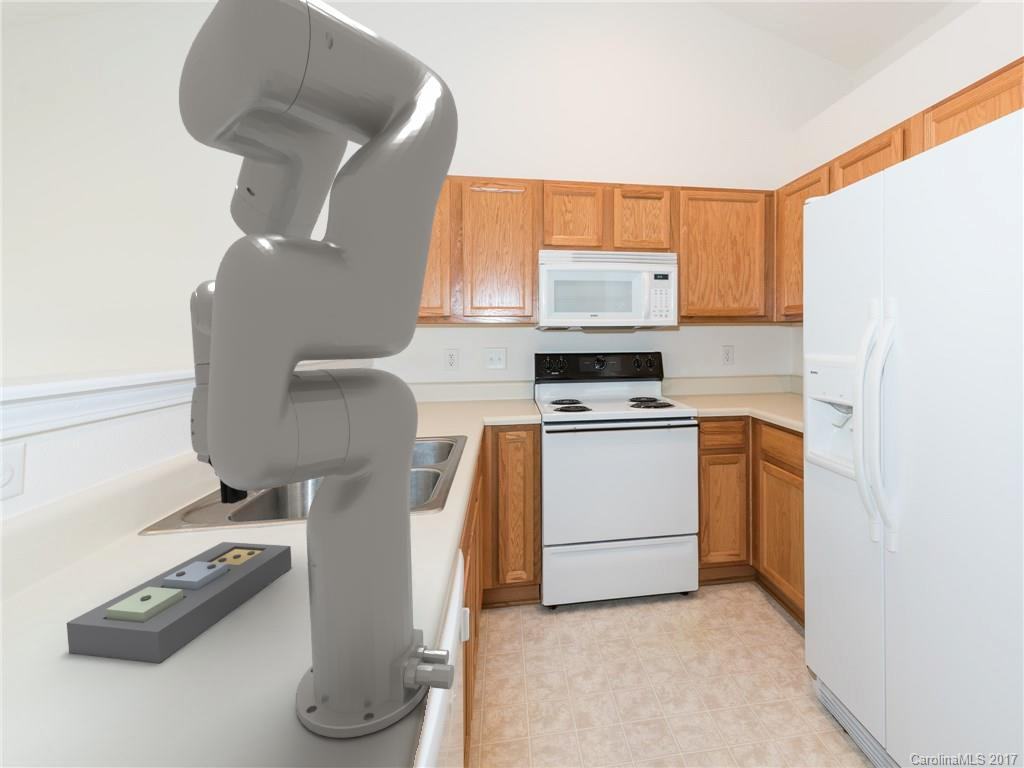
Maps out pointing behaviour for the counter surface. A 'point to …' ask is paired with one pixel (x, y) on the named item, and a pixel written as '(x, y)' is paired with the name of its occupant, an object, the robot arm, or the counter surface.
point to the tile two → (195, 575)
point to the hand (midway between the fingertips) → (234, 500)
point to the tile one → (144, 604)
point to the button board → (178, 608)
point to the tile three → (237, 556)
